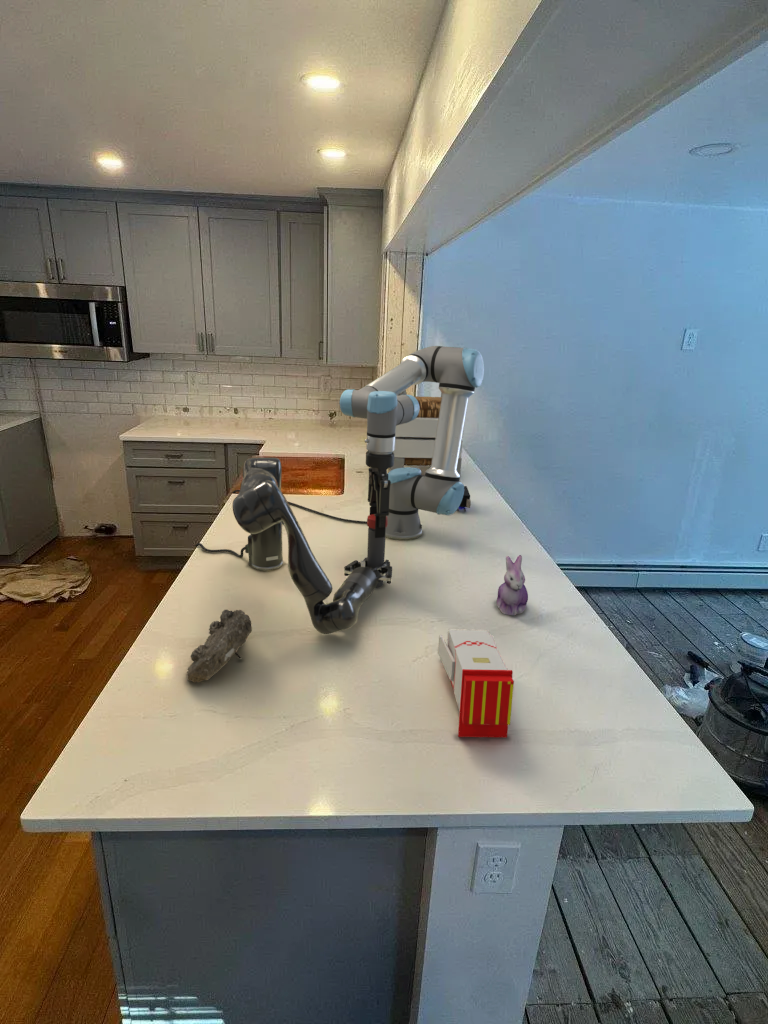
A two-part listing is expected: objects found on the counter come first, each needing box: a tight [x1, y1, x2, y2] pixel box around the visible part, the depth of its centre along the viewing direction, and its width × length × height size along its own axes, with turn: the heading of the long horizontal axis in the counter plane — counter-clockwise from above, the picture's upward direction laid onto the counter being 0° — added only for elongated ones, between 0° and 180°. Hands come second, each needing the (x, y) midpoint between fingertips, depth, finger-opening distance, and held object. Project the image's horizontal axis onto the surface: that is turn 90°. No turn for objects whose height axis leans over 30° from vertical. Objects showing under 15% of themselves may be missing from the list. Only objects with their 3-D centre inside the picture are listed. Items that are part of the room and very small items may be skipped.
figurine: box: [496, 554, 529, 616], centre depth 150 cm, size 9×10×15 cm
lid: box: [366, 514, 388, 529], centre depth 156 cm, size 6×6×2 cm
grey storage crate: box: [389, 389, 465, 482], centre depth 268 cm, size 34×33×41 cm
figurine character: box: [456, 485, 472, 513], centre depth 228 cm, size 7×8×15 cm
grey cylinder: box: [366, 526, 386, 589], centre depth 159 cm, size 5×5×20 cm
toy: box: [437, 628, 515, 738], centre depth 117 cm, size 12×13×30 cm
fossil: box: [186, 609, 253, 683], centre depth 125 cm, size 22×10×15 cm
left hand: (378, 561), depth 163 cm, fingers closed on grey cylinder, 5 cm apart
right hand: (376, 532), depth 157 cm, fingers closed on lid, 5 cm apart
